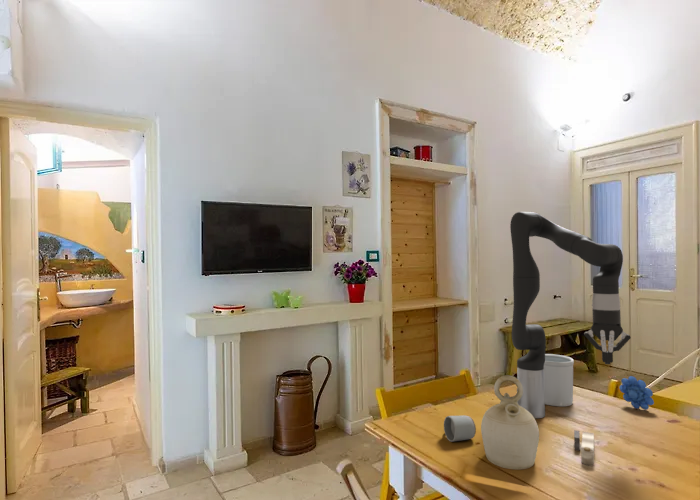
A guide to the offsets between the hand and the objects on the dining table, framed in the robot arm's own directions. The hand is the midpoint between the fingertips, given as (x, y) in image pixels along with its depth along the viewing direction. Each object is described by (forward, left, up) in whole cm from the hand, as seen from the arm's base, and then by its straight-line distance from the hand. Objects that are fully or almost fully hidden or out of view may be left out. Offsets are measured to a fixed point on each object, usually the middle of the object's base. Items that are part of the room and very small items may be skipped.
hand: (607, 363), depth 135 cm
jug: (-26, -26, -25) cm, 45 cm away
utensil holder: (-17, +38, -25) cm, 49 cm away
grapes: (+11, +41, -25) cm, 49 cm away
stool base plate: (0, -14, -25) cm, 28 cm away
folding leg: (-6, -13, -24) cm, 28 cm away
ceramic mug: (-44, -15, -25) cm, 53 cm away
